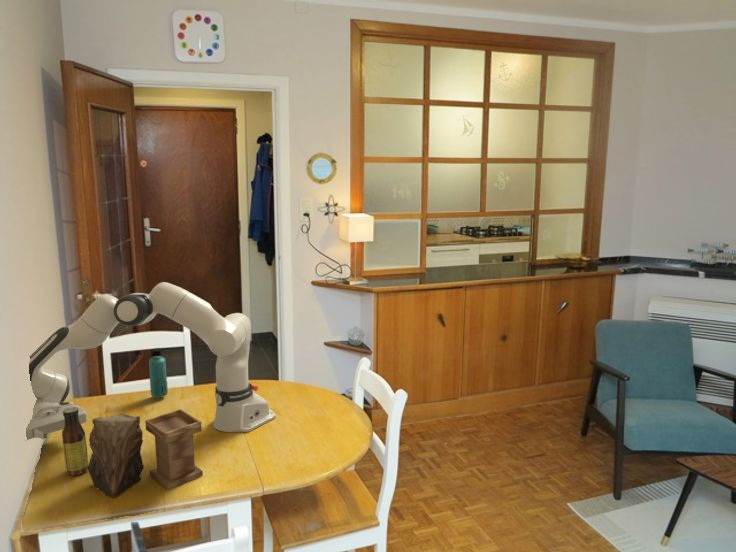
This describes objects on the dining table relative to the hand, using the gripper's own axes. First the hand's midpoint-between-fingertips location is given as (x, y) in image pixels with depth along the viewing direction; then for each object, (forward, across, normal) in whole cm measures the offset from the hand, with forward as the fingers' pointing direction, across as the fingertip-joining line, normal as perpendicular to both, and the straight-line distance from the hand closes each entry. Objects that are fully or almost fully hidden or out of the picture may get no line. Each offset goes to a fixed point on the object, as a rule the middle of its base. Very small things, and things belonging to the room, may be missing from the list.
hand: (60, 431), depth 186 cm
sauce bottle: (+12, 0, +9) cm, 15 cm away
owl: (+28, +5, +9) cm, 30 cm away
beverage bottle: (-23, +44, +9) cm, 51 cm away
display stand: (+35, +20, +9) cm, 41 cm away
